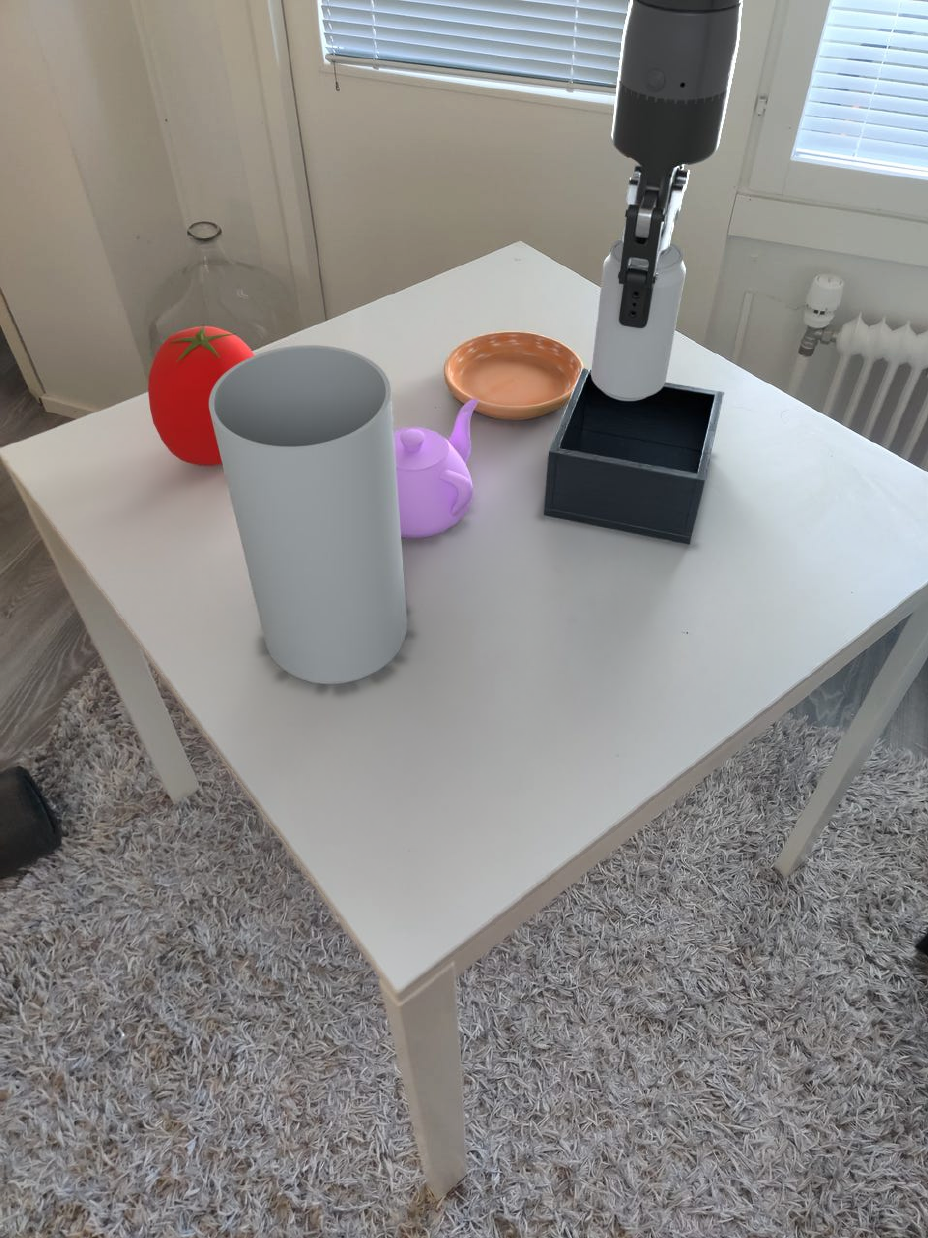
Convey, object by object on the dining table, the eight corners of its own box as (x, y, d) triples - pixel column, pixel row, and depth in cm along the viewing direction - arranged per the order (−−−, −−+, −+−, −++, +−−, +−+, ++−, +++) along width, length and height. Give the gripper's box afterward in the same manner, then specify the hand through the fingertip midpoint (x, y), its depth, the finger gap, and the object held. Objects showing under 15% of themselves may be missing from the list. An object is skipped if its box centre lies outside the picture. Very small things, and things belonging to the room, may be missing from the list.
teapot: (477, 467, 100) (478, 396, 93) (472, 558, 90) (472, 486, 84) (365, 464, 100) (358, 393, 93) (348, 554, 91) (339, 483, 84)
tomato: (204, 500, 96) (171, 380, 86) (143, 451, 101) (105, 333, 91) (301, 446, 102) (282, 328, 92) (239, 403, 108) (214, 286, 97)
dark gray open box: (709, 455, 101) (724, 391, 95) (689, 545, 91) (705, 480, 86) (575, 431, 104) (582, 367, 98) (543, 515, 94) (548, 451, 88)
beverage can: (673, 373, 83) (698, 240, 74) (652, 413, 79) (676, 277, 70) (603, 356, 84) (620, 224, 75) (579, 394, 80) (594, 260, 71)
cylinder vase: (370, 706, 78) (340, 467, 60) (239, 663, 82) (172, 424, 63) (429, 604, 86) (419, 365, 68) (308, 569, 89) (266, 331, 71)
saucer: (495, 337, 117) (495, 315, 114) (607, 380, 110) (610, 357, 108) (416, 398, 108) (414, 375, 106) (533, 448, 102) (534, 425, 99)
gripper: (719, 119, 58) (674, 357, 70) (741, 44, 67) (697, 266, 80) (599, 106, 59) (575, 341, 72) (637, 34, 69) (610, 254, 81)
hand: (640, 301), depth 76 cm, fingers closed on beverage can, 6 cm apart
